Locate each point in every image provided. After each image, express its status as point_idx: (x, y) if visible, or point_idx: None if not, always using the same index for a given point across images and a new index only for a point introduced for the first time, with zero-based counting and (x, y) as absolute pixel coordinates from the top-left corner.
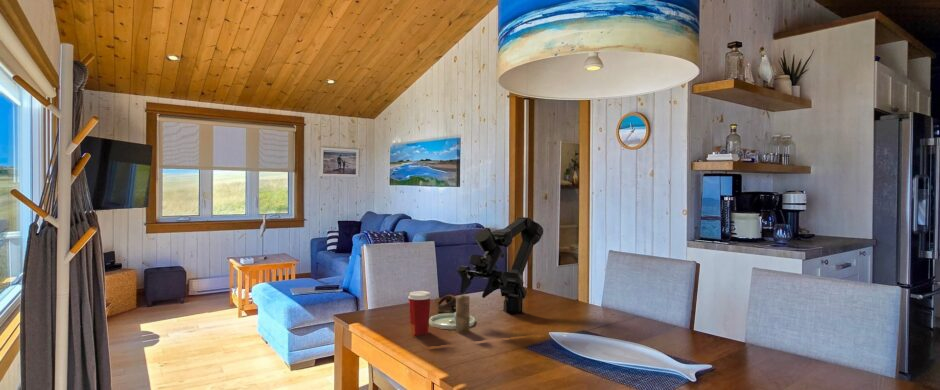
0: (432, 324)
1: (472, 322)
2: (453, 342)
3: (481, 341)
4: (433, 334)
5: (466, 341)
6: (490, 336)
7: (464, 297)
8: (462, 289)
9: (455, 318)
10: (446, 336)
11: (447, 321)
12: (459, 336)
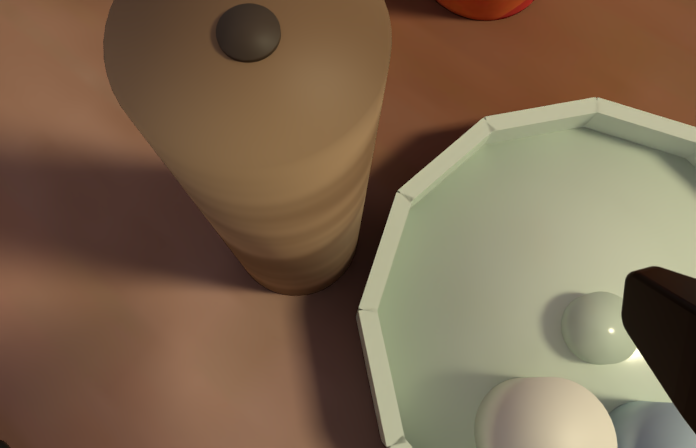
0: (585, 104)
1: (384, 434)
2: None
3: (23, 226)
4: (430, 45)
5: (116, 133)
6: (57, 386)
7: (173, 20)
8: (693, 319)
9: (647, 402)
10: None
11: None
12: None
